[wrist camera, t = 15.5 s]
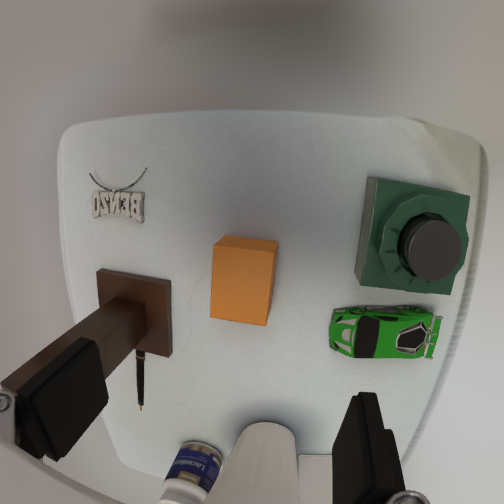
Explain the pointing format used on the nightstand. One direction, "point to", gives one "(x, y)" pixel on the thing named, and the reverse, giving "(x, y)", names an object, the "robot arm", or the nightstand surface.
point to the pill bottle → (191, 474)
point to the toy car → (383, 332)
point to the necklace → (118, 202)
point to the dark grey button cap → (430, 248)
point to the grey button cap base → (393, 225)
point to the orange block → (243, 279)
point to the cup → (259, 469)
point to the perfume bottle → (315, 479)
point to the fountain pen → (140, 376)
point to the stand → (114, 325)
